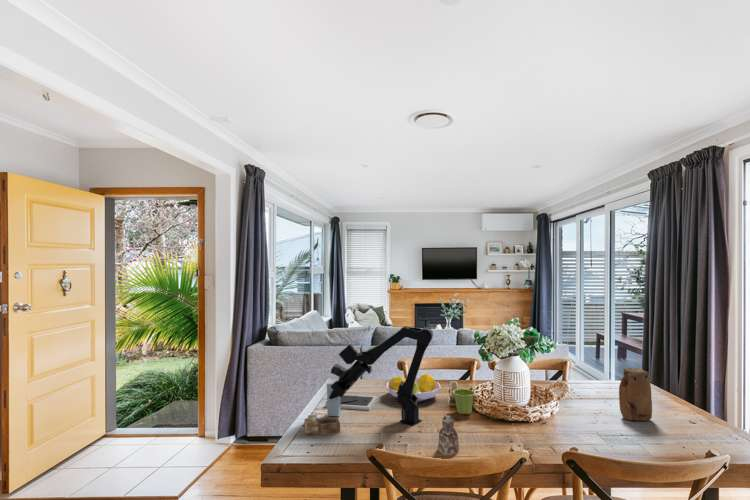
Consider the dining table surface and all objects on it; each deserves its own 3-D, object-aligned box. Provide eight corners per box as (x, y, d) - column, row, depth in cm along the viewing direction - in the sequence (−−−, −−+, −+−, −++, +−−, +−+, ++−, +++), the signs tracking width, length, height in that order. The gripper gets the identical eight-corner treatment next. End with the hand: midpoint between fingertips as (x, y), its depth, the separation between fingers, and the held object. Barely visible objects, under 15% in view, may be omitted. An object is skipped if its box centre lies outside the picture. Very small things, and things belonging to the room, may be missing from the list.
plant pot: (466, 417, 172) (466, 396, 172) (449, 412, 179) (448, 392, 179) (479, 412, 178) (479, 392, 179) (462, 407, 185) (461, 387, 186)
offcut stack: (317, 425, 163) (316, 413, 163) (318, 431, 157) (318, 418, 157) (304, 427, 162) (304, 414, 162) (305, 432, 156) (305, 420, 156)
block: (641, 414, 173) (639, 366, 174) (655, 421, 165) (653, 371, 166) (617, 416, 172) (615, 367, 173) (630, 422, 164) (628, 372, 165)
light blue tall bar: (340, 413, 177) (340, 382, 177) (338, 416, 174) (338, 384, 174) (329, 413, 178) (329, 381, 178) (327, 415, 175) (326, 383, 175)
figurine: (436, 453, 140) (435, 417, 141) (440, 444, 147) (439, 410, 147) (457, 456, 138) (456, 420, 138) (460, 447, 144) (459, 412, 145)
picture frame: (325, 409, 187) (369, 412, 182) (325, 402, 187) (369, 405, 182) (336, 398, 202) (377, 400, 198) (336, 392, 202) (377, 394, 198)
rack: (337, 426, 165) (337, 417, 165) (340, 432, 159) (339, 423, 159) (304, 429, 162) (304, 420, 162) (305, 435, 156) (305, 426, 156)
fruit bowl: (394, 387, 217) (394, 365, 217) (445, 391, 208) (445, 369, 208) (376, 404, 190) (376, 379, 191) (434, 410, 181) (434, 384, 182)
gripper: (348, 353, 185) (325, 377, 187) (335, 363, 167) (310, 389, 169) (365, 372, 183) (342, 395, 185) (354, 383, 165) (328, 410, 167)
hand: (330, 397), depth 176 cm, fingers open, 3 cm apart
